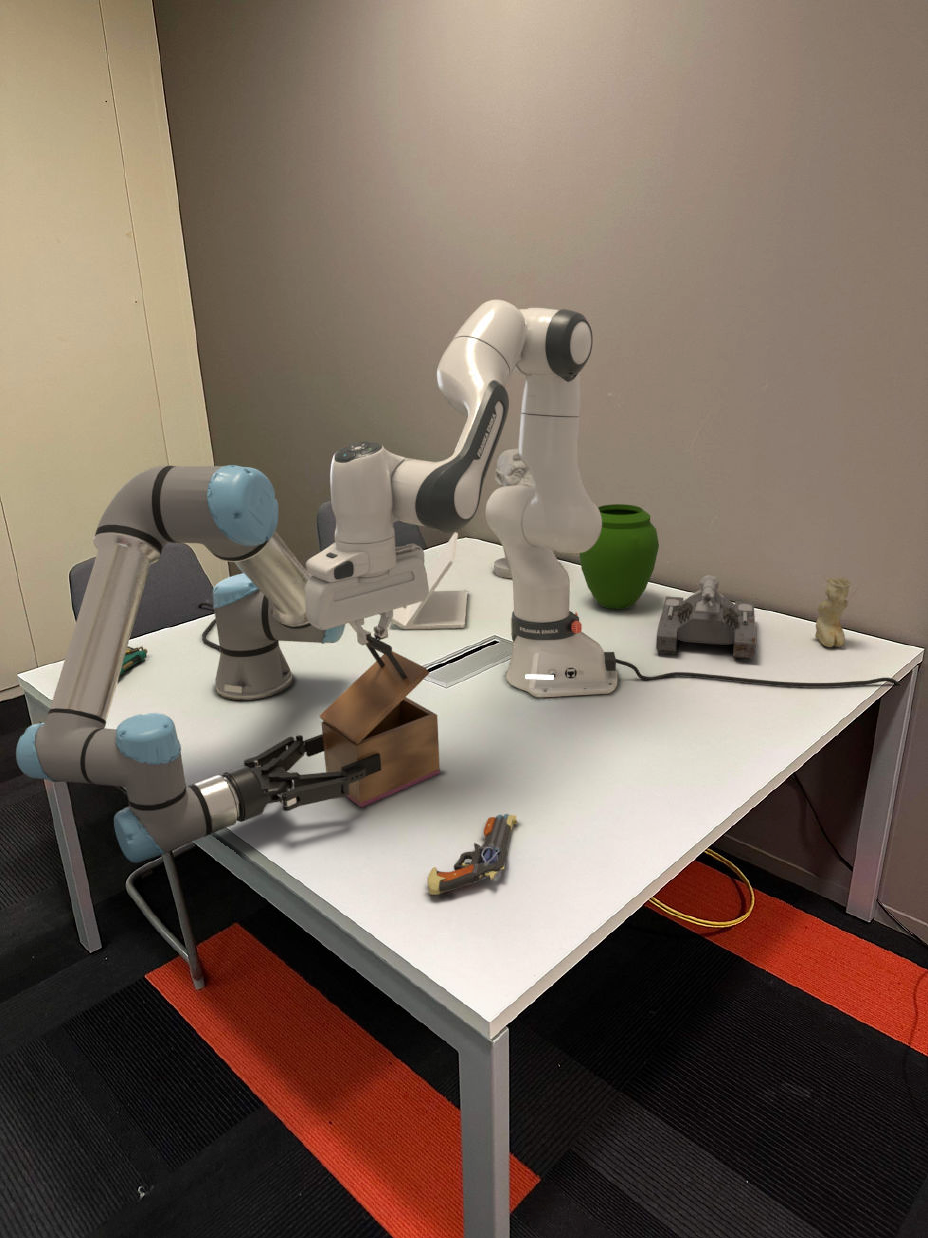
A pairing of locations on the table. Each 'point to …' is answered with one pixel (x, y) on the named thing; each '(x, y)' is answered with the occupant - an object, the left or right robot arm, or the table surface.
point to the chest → (388, 752)
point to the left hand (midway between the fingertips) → (360, 748)
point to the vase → (621, 556)
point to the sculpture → (832, 613)
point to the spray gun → (132, 657)
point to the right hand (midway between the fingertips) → (372, 640)
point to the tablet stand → (436, 599)
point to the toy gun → (477, 858)
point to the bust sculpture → (510, 475)
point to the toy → (707, 621)
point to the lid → (374, 693)
